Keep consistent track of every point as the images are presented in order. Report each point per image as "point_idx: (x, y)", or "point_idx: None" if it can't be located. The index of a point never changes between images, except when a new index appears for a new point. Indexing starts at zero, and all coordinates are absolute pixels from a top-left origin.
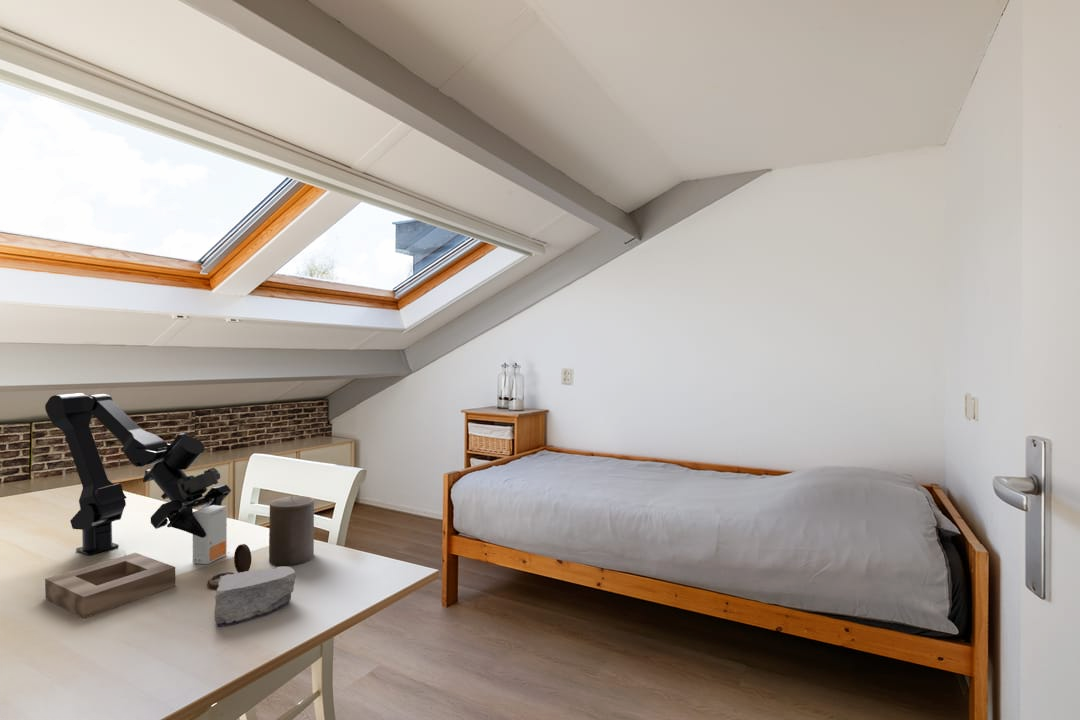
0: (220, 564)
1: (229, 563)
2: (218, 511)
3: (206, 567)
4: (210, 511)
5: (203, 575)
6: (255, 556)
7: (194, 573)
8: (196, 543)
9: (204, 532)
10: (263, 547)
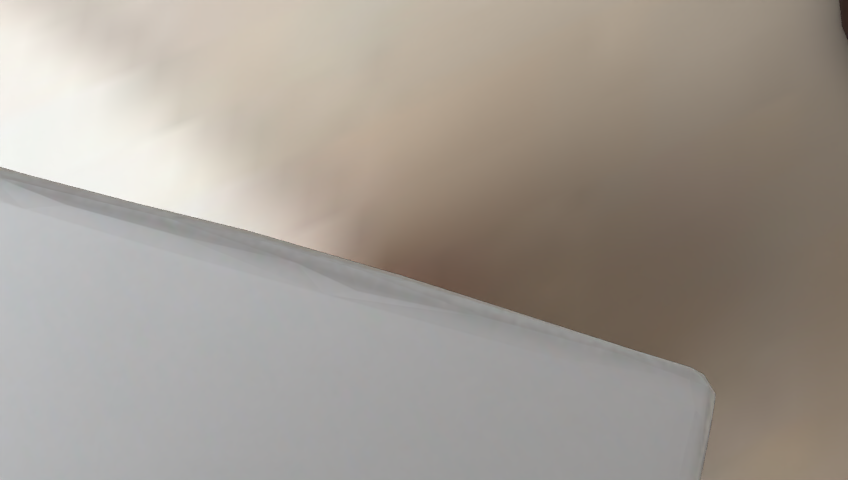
0: (505, 260)
1: (482, 180)
2: (86, 191)
3: None
4: (411, 387)
5: (798, 296)
6: (310, 9)
7: (748, 420)
8: None
9: None
10: (61, 32)
